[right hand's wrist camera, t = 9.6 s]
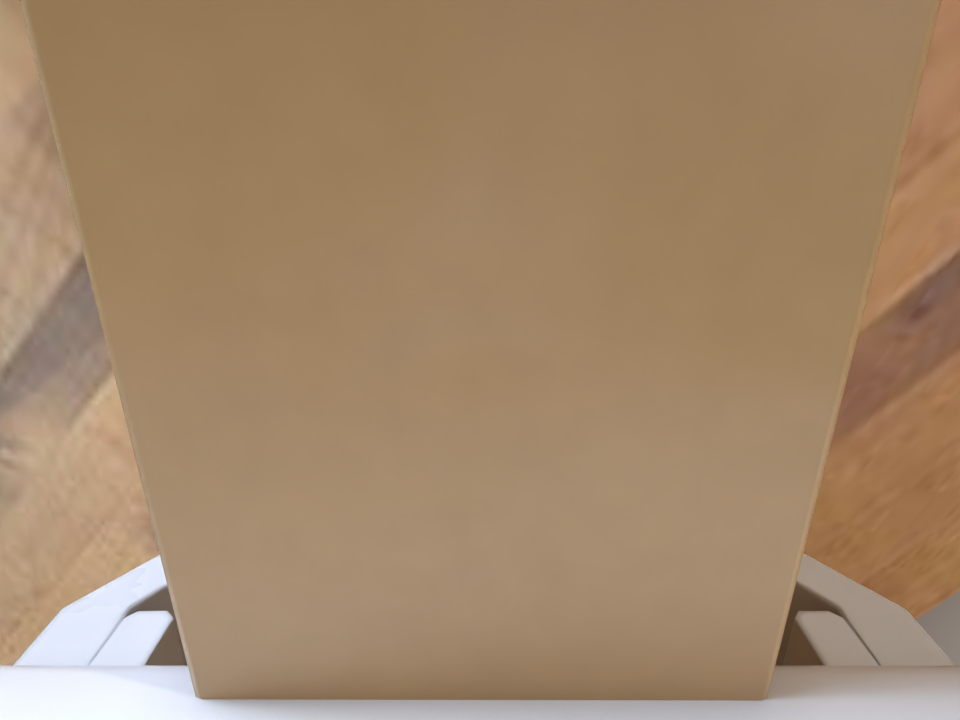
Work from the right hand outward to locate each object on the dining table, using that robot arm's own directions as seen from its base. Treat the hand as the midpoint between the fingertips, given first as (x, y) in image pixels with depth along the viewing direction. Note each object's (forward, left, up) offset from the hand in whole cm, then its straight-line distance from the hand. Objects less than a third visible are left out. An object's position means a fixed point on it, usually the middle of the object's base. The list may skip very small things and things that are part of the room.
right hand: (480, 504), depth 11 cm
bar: (-10, +3, -3) cm, 11 cm away
